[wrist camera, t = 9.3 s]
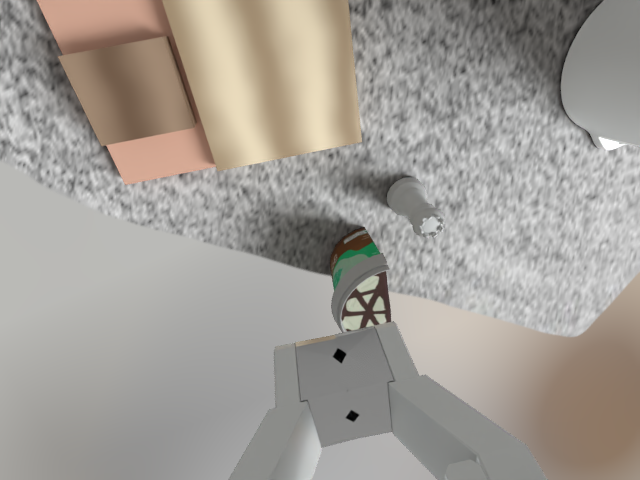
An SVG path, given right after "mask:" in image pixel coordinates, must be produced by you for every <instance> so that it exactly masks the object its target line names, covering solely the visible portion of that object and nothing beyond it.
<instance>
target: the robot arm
mask: <svg viewBox="0 0 640 480" xmlns="http://www.w3.org/2000/svg"><path fill="white" fill-rule="evenodd" d="M561 97H562V103H563V106H564V109H565V111H566V113H567V115H568V116H569V118H570V119H571V120H572V121H573V122H574V123H575V124H577V125H578V126H580V127H582V128H583V129H585V130H586V131H588V132H589V133H590V135H591V138H592V140H593V142H594V144H595V145H596V147H597V148H599V149H603V150H612V149H615V148H618V147H620V146H623V145H625V144H627V145H631V146H635V147H640V0H604V1H603V2H602V3H601V4H600V5H599V6H598V7H597V8H596V9H595V10H594V11H593V12H592V13H591V15H590V16H589V17H588V19H587V20H586V21H585V23H584V24H583V26H582V27H581V29H580V30H579V32H578V33H577V35H576V37H575V39H574V41H573V43H572V45H571V47H570V49H569V52H568V54H567V57H566V60H565V63H564V67H563V72H562V78H561ZM274 373H275V405H276V408H272V409H269V411H268V412H267V414H266V416H265V418H264V419H263V421H262V423H261V424H260V426H259V428H258V429H257V431H256V433H255V435H254V437H253V438H252V440H251V442H250V443H249V445H248V447H247V448H246V450H245V452H244V454H243V455H242V457H241V459H240V461H239V463H238V464H237V466H236V467H235V469H234V471H233V473H232V474H231V476H230V478H229V480H312V477H313V474H314V471H315V469H316V466H317V463H318V460H319V457H320V454H321V451H322V447H326V446H330V445H334V444H337V443H342V442H346V441H349V440H353V439H357V438H362V437H367V436H373V435H378V434H383V433H388V432H393V434H394V435H395V436H396V437H397V438H398V439H399V440H400V442H401V443H402V444H403V445H404V446H406V448H407V449H408V450H409V451H410V452H411V453H412V454H413V455H414V456H415V457H416V458H417V459H418V460H419V461H420V462H421V463H422V464H423V465H424V466H425V467H426V468H427V469H428V470H429V471H430V472H431V473H432V474H433V475H434V476H435V478H436V479H437V480H548V479H547V478H546V476H545V474H544V473H543V471H542V469H541V468H540V466H539V465H538V463H537V461H536V460H535V458H534V457H533V455H532V453H531V452H530V450H529V448H528V447H527V445H526V444H524V443H523V442H521V441H520V440H519V439H517V438H516V437H514V436H513V435H511V434H510V433H508V432H507V431H506V430H504V429H503V428H501V427H500V426H498V425H497V424H496V423H494V422H493V421H491V420H490V419H488V418H487V417H486V416H484V415H482V414H481V413H480V412H478V411H477V410H476V409H474V408H473V407H471V406H470V405H468V404H467V403H465V402H464V401H463V400H461V399H460V398H458V397H457V396H455V395H454V394H453V393H451V392H450V391H448V390H447V389H445V388H444V387H443V386H441V385H440V384H438V383H437V382H435V381H434V380H432V379H431V378H430V377H428V376H427V375H422V376H419V374H418V372H417V369H416V367H415V365H414V363H413V360H412V358H411V356H410V354H409V351H408V349H407V347H406V344H405V342H404V340H403V338H402V335H401V333H400V331H399V329H398V326H397V324H396V323H395V322H394V321H393V322H388V323H384V324H379V325H375V326H370V327H365V328H361V329H356V330H352V331H348V332H343V333H339V334H335V335H332V336H327V337H322V338H316V339H311V340H306V341H300V342H296V343H292V344H286V345H281V346H276V347H275V350H274Z"/></svg>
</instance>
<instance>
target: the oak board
mask: <svg viewBox="0 0 640 480" xmlns="http://www.w3.org/2000/svg"><path fill="white" fill-rule="evenodd" d="M162 2H163V5H164V8H165V11H166V14H167V17H168V20H169V23H170V26H171V29H172V33H173V36H174V39H175V42H176V45H177V48H178V51H179V54H180V57H181V60H182V63H183V66H184V69H185V72H186V76H187V79H188V82H189V85H190V88H191V91H192V94H193V97H194V100H195V103H196V106H197V109H198V112H199V115H200V119H201V122H202V125H203V128H204V131H205V134H206V137H207V140H208V143H209V146H210V149H211V152H212V155H213V158H214V162H215V165H216V168H217V171H221V170H226V169H231V168H236V167H241V166H246V165H251V164H256V163H261V162H266V161H271V160H276V159H280V158H285V157H290V156H295V155H300V154H305V153H310V152H315V151H320V150H325V149H330V148H335V147H340V146H345V145H350V144H354V143H359V142H362V139H361V128H360V118H359V108H358V97H357V87H356V77H355V66H354V56H353V46H352V36H351V25H350V15H349V5H348V0H162Z"/></svg>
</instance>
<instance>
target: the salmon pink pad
mask: <svg viewBox="0 0 640 480" xmlns="http://www.w3.org/2000/svg"><path fill="white" fill-rule="evenodd" d="M37 2H38V4H39V6H40V8H41V10H42V12H43V14H44V17H45V19H46V21H47V23H48V25H49V27H50V29H51V31H52V33H53V35H54V37H55V39H56V42H57V44H58V46H59V48H60V50H61V52H62V54H63V55H68V54H73V53H79V52H84V51H89V50H95V49H100V48H106V47H111V46H116V45H122V44H127V43H132V42H138V41H143V40H148V39H154V38H159V37H165V36H168V37H169V40H170V43H171V46H172V49H173V52H174V55H175V58H176V61H177V64H178V67H179V70H180V73H181V76H182V79H183V82H184V85H185V88H186V91H187V94H188V97H189V100H190V103H191V106H192V109H193V112H194V115H195V118H196V121H197V123H196V125H195V127H194V128H191V129H186V130H181V131H176V132H171V133H166V134H160V135H155V136H150V137H145V138H140V139H135V140H130V141H125V142H120V143H115V144H110V145H106V146H107V148H108V150H109V152H110V154H111V156H112V158H113V160H114V162H115V165H116V167H117V169H118V171H119V173H120V175H121V177H122V179H123V181H124V183H125V185H127V184H132V183H137V182H142V181H147V180H152V179H157V178H162V177H167V176H172V175H177V174H182V173H186V172H191V171H196V170H201V169H206V168H211V167H216V165H215V162H214V158H213V155H212V152H211V149H210V146H209V143H208V140H207V137H206V134H205V131H204V128H203V125H202V122H201V119H200V115H199V112H198V109H197V106H196V103H195V100H194V97H193V94H192V91H191V88H190V85H189V82H188V79H187V76H186V72H185V69H184V66H183V63H182V60H181V57H180V54H179V51H178V48H177V45H176V42H175V39H174V36H173V33H172V29H171V26H170V23H169V20H168V17H167V14H166V11H165V8H164V5H163V2H162V0H37Z"/></svg>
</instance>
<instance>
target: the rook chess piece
mask: <svg viewBox="0 0 640 480" xmlns="http://www.w3.org/2000/svg"><path fill="white" fill-rule="evenodd" d="M387 203H388V205H389V207H390V208H391V209H392V210H393V211H394V212H395V213H396V214H398V215H401V216H404V217H408V218H409V220H410V223H411V224H412V225H413V230H414V232H415V233H416V234H417V235H419V236H423V237H425V238H429V236H432V237H433V238H434V237H436V236H438V235H437V234H436V233H437V232H438V231H440V232H442V231H443V229H444V227H443V226H442V225H443V224H445V222H444V215H443V212H442V211H441V210H440V209H437V208H435V207H434V206H433V205H432V204H428V202H427V192H426V189H425V187H424V186H423V184H422V183H421V182H420V181H419V180H418V179H415V178H412V177H407V178H402V179H400V180H398V181H396V182H395V183H394V184H393V185H392V186H391V187H390V189H389V191H388V193H387Z"/></svg>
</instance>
